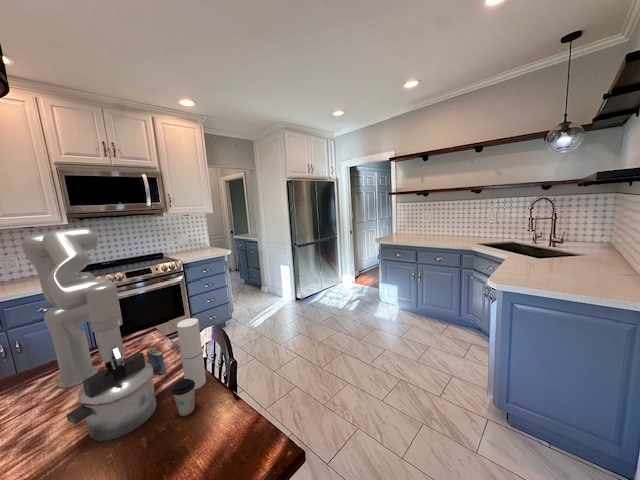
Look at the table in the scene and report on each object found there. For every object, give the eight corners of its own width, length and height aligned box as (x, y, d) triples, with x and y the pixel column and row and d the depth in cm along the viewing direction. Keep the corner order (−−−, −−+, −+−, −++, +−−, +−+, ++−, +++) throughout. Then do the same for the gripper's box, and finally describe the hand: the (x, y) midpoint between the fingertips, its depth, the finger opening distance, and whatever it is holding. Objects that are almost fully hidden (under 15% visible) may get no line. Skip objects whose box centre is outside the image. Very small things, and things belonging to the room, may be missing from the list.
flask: (167, 372, 109) (163, 348, 108) (159, 376, 107) (155, 352, 105) (154, 366, 114) (150, 343, 112) (147, 370, 111) (143, 347, 110)
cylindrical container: (198, 390, 98) (189, 327, 94) (181, 388, 99) (172, 326, 95) (209, 377, 105) (202, 318, 101) (193, 376, 106) (185, 317, 102)
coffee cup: (193, 399, 94) (190, 373, 92) (201, 409, 89) (197, 382, 87) (172, 410, 89) (168, 384, 87) (179, 422, 84) (174, 394, 82)
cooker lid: (101, 413, 73) (97, 394, 72) (65, 395, 81) (61, 377, 80) (165, 371, 90) (163, 355, 89) (131, 359, 98) (128, 344, 97)
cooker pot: (60, 440, 79) (52, 405, 78) (144, 384, 103) (140, 355, 101) (96, 460, 72) (87, 422, 71) (177, 395, 96) (173, 365, 94)
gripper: (86, 319, 85) (95, 367, 88) (97, 336, 74) (107, 390, 77) (114, 311, 91) (122, 356, 94) (129, 325, 80) (137, 376, 82)
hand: (116, 371), depth 85 cm, fingers open, 9 cm apart
